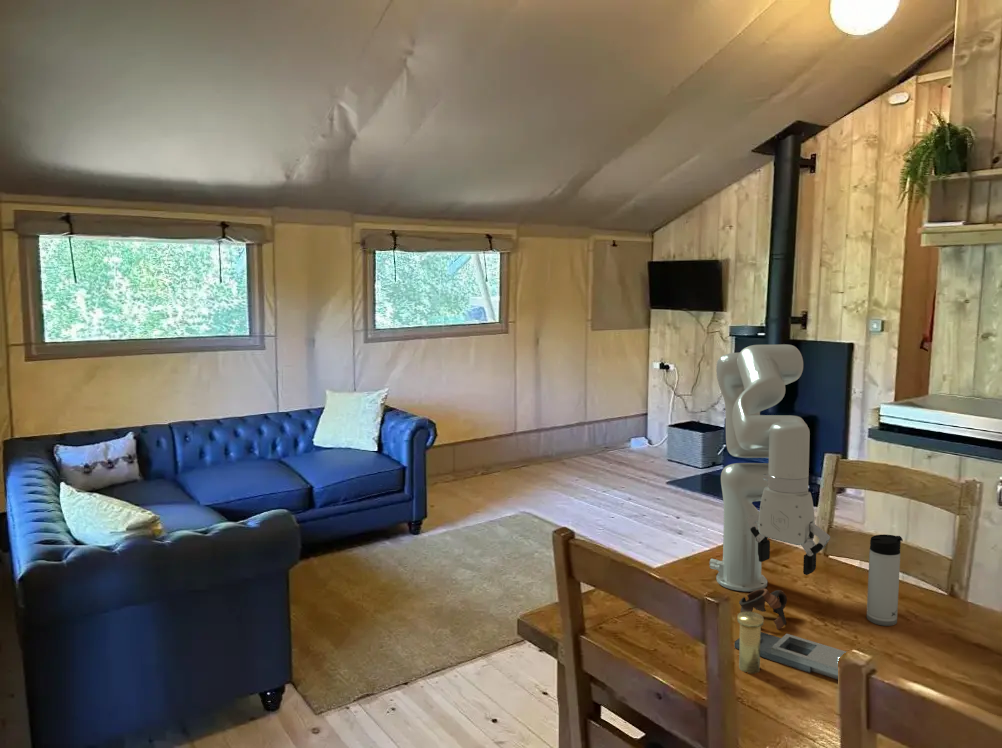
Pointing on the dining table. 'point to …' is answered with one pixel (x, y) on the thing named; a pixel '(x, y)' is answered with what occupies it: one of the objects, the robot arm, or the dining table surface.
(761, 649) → the grey plate with socket
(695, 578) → the dining table surface
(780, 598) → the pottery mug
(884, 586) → the travel mug
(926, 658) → the dining table surface
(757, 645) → the pin
